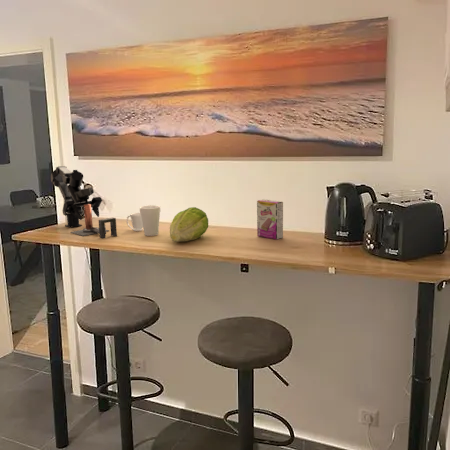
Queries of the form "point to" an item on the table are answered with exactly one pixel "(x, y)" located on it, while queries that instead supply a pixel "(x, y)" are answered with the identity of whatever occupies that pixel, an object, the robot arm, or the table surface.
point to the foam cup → (150, 219)
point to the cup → (136, 221)
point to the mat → (81, 233)
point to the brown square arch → (112, 225)
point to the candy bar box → (270, 219)
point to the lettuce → (188, 225)
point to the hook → (89, 220)
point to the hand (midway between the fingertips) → (90, 217)
